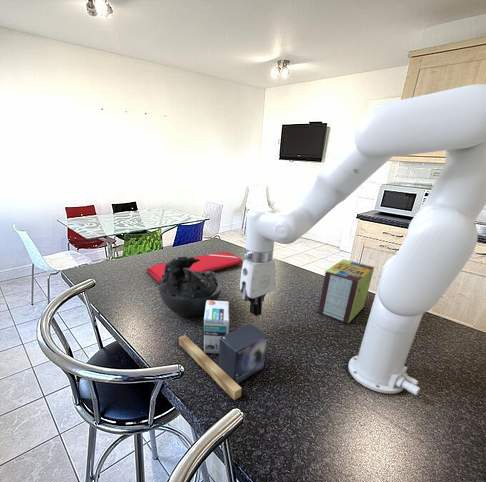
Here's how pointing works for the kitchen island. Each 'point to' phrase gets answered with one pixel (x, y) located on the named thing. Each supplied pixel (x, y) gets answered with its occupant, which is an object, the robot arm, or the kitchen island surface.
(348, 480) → the kitchen island surface
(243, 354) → the small box
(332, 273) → the protein box
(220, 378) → the maple rail
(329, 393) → the kitchen island surface
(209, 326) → the light bulb box
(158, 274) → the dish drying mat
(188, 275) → the coal bowl
